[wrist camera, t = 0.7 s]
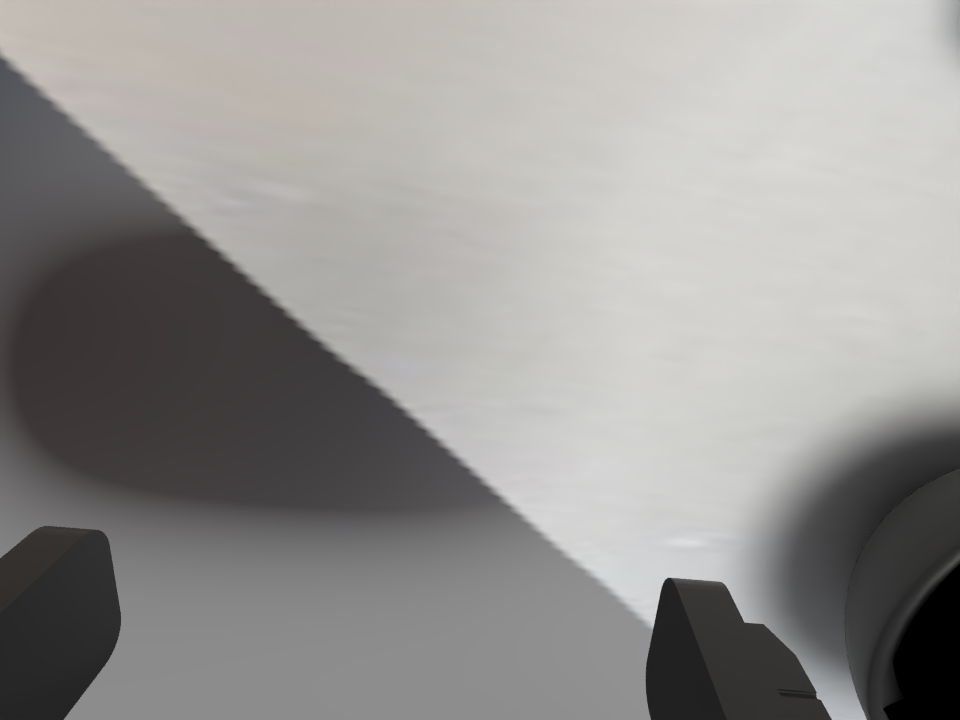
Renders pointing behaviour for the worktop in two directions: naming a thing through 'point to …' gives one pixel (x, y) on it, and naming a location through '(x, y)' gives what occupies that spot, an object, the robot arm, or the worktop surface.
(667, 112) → the worktop surface
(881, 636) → the coal bowl
